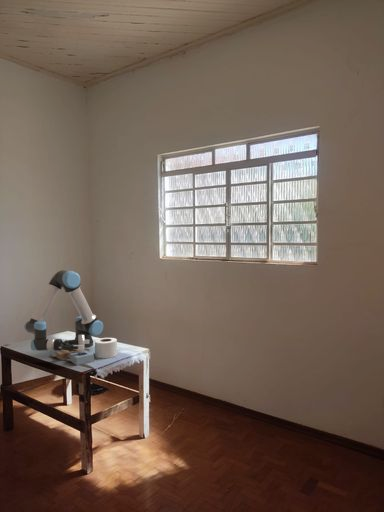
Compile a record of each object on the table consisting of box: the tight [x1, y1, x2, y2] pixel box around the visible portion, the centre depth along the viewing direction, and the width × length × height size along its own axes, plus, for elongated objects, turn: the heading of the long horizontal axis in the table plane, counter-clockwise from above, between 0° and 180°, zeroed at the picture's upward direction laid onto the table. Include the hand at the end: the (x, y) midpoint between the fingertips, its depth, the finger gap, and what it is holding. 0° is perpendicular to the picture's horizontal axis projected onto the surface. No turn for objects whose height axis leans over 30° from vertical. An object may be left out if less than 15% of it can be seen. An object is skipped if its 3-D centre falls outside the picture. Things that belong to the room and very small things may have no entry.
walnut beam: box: [55, 347, 90, 361], centre depth 261 cm, size 20×10×4 cm, turn 130°
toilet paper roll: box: [94, 337, 118, 359], centre depth 263 cm, size 16×15×11 cm
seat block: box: [69, 350, 95, 366], centre depth 249 cm, size 12×12×5 cm
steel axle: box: [78, 334, 85, 356], centre depth 249 cm, size 4×4×18 cm
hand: (86, 344), depth 249 cm, fingers open, 13 cm apart
